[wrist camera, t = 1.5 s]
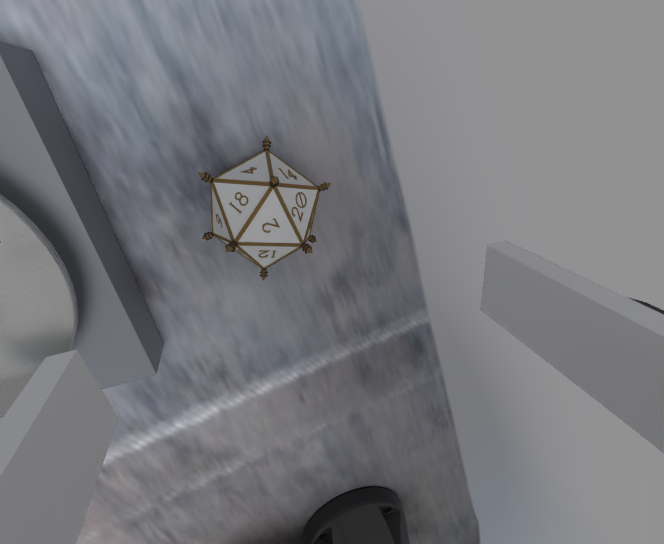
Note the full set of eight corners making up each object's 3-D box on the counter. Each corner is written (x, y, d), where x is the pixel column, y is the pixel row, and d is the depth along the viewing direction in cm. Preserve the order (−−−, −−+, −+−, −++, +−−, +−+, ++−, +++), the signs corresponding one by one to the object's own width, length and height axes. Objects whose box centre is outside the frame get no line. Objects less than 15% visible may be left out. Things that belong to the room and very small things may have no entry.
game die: (247, 167, 29) (257, 81, 20) (326, 224, 30) (372, 168, 21) (178, 246, 26) (154, 187, 17) (270, 307, 27) (295, 283, 18)
